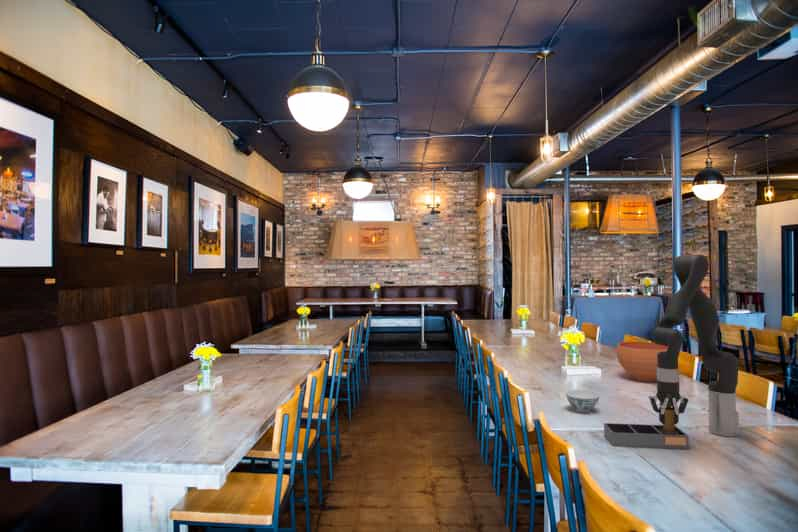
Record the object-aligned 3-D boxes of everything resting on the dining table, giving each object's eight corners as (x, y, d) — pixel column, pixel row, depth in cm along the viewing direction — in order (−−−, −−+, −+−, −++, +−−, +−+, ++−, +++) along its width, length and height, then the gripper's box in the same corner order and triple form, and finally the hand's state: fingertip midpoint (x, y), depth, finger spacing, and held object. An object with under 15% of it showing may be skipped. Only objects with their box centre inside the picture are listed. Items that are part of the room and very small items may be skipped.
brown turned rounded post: (669, 440, 176) (668, 393, 176) (655, 434, 182) (654, 389, 182) (683, 438, 177) (682, 391, 178) (669, 432, 184) (668, 387, 184)
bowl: (606, 377, 285) (605, 343, 285) (639, 371, 298) (639, 339, 298) (650, 388, 258) (650, 351, 258) (685, 381, 271) (685, 346, 271)
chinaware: (603, 415, 213) (602, 399, 213) (568, 414, 216) (568, 397, 216) (595, 406, 228) (595, 390, 228) (563, 404, 231) (563, 389, 231)
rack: (675, 438, 185) (675, 425, 185) (689, 449, 173) (688, 436, 173) (604, 435, 189) (604, 423, 189) (612, 446, 177) (612, 433, 177)
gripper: (683, 377, 182) (684, 420, 182) (644, 376, 185) (645, 419, 185) (692, 382, 175) (693, 427, 175) (652, 381, 177) (652, 426, 177)
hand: (668, 423), depth 180 cm, fingers closed on brown turned rounded post, 4 cm apart
